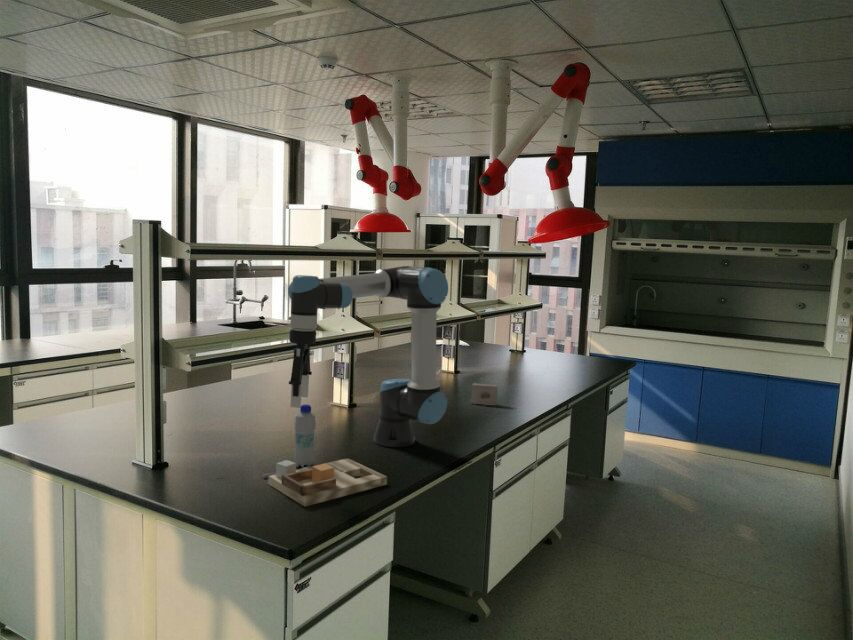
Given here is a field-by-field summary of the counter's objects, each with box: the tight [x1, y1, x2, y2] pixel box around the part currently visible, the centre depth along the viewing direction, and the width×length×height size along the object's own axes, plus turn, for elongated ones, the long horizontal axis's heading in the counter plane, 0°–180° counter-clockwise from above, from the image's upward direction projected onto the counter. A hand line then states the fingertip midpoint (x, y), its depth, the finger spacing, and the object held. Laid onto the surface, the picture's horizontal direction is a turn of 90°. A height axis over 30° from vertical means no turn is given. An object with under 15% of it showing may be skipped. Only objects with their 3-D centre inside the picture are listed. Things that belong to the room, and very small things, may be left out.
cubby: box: [282, 469, 336, 496], centre depth 184 cm, size 11×11×2 cm
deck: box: [267, 457, 388, 507], centre depth 192 cm, size 28×20×3 cm
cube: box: [312, 462, 334, 483], centre depth 187 cm, size 4×4×4 cm
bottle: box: [293, 404, 317, 469], centre depth 206 cm, size 7×7×20 cm
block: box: [275, 459, 297, 478], centre depth 190 cm, size 4×4×4 cm
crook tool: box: [261, 471, 276, 480], centre depth 197 cm, size 10×4×1 cm, turn 131°
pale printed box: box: [470, 382, 498, 406], centre depth 301 cm, size 12×4×10 cm, turn 81°
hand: (299, 401), depth 188 cm, fingers open, 13 cm apart
